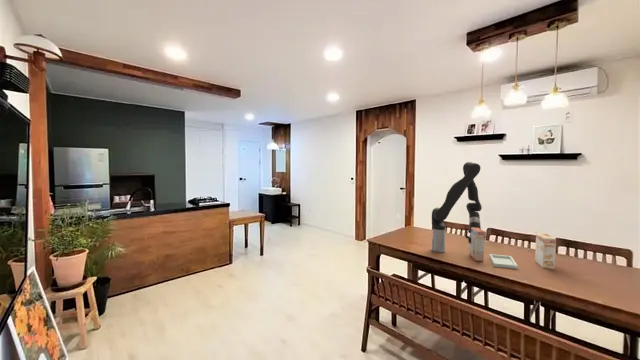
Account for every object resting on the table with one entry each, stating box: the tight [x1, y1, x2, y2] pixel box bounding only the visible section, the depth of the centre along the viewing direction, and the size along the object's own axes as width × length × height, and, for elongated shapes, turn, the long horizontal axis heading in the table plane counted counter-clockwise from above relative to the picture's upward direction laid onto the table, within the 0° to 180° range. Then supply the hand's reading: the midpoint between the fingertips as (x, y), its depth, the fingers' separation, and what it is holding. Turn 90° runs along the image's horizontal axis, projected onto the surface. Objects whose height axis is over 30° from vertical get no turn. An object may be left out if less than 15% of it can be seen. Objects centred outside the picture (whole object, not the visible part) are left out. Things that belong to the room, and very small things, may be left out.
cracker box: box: [468, 227, 486, 262], centre depth 212 cm, size 14×6×21 cm, turn 168°
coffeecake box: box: [534, 233, 557, 270], centre depth 199 cm, size 15×7×20 cm, turn 160°
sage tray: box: [488, 253, 519, 270], centre depth 203 cm, size 13×21×2 cm, turn 157°
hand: (475, 243), depth 215 cm, fingers closed on cracker box, 6 cm apart
